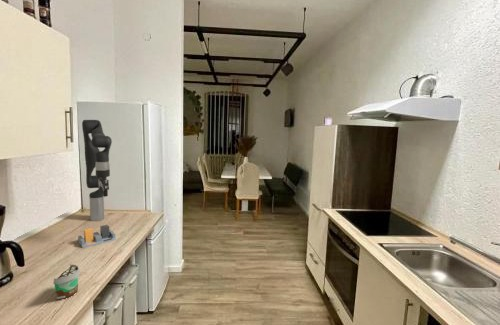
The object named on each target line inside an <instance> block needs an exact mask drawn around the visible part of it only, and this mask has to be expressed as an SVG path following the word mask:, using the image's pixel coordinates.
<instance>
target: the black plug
mask: <svg viewBox="0 0 500 325" xmlns="http://www.w3.org/2000/svg"><path fill="white" fill-rule="evenodd" d="M99 228H100V230H99V231H100V233H99V234H101V236H102V239H104V238H108V237H109V229H110V226H109V225H108V224H103V225H100V227H99Z"/></svg>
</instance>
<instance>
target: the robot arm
mask: <svg viewBox="0 0 500 325" xmlns="http://www.w3.org/2000/svg"><path fill="white" fill-rule="evenodd" d="M81 124H82V125H81V126H82V127H81V128H82V134H83V142H84V159H85V169H86V171H85V172H86V173H85V174H86V176H85V177H86V186H87V188H88V189H97V190H94V191H92V192H90V193H89V198H88V199H89V214H90V215H89V219H90V221H91V222H98V221H102V220H105V200H104V199H105V197H108V192H109V190H110V186H109V181H110V180H109V179H107V178H108V177H110V176H111V175H110V174H111V173H110V172H111V171H110V166H111V164H110V156H109V155H110V151H111V150H110V149H111V146H112V142H113V141H112V138H111V137H110V136H108V135H105V133H104V130H103V126H102V123H101V121H100V120H98V119H84V120H82V123H81ZM90 134H91V135H90ZM90 136H91V137H90ZM101 148H104V149H103V150H100V149H101ZM94 170H95V175H93V171H94Z"/></svg>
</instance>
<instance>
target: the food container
mask: <svg viewBox="0 0 500 325" xmlns="http://www.w3.org/2000/svg"><path fill="white" fill-rule="evenodd" d="M80 274H81V270H80V267H79V266H78V265H76V264H70V266H69V267H68V268H67V269H66V270H64V271H63V272H62V273H61V274H59V276H58V277H56V278H54V279H53V285H54V289H55V296H56V297H55V298H56V301H63V300H62V299H64V300H67V299H69V297H70V298H71V296H72V297H73V296H75V295H76V294H77V293H78V289H79V275H80ZM75 293H76V294H75ZM74 294H75V295H74ZM66 298H67V299H66Z"/></svg>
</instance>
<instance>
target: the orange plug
mask: <svg viewBox="0 0 500 325" xmlns="http://www.w3.org/2000/svg"><path fill="white" fill-rule="evenodd" d="M93 233H94V229H93V228H92V227H90V228H89V227H88V228H84V229H83V238H84V240H85V242H86V243H87V242H91V241H93Z"/></svg>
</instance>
